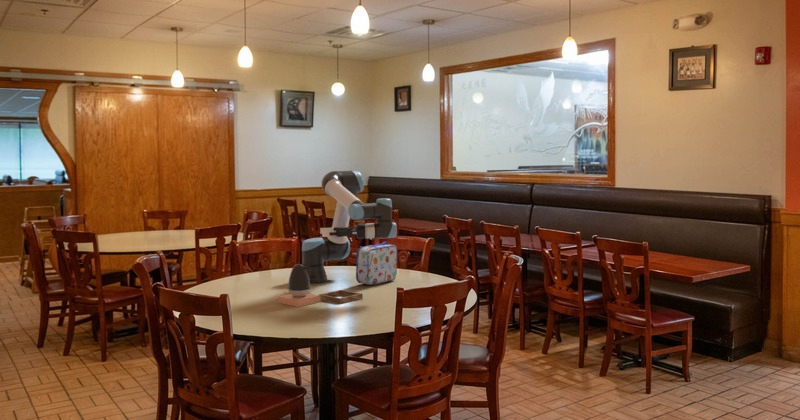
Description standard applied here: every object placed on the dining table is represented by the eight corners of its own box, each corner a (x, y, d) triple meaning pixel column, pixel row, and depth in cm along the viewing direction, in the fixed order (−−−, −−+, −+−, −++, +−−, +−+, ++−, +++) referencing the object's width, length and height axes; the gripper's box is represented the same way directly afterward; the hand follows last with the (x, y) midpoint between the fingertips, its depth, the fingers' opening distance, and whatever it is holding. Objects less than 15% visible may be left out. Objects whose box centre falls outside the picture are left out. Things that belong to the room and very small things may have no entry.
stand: (301, 297, 329) (301, 291, 329) (320, 301, 319) (320, 295, 319) (278, 302, 319) (278, 296, 318) (297, 306, 309) (297, 300, 309)
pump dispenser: (311, 297, 315) (310, 265, 313) (288, 298, 313) (287, 266, 312) (310, 293, 325) (309, 261, 323) (288, 294, 323) (287, 262, 322)
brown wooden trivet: (341, 294, 335) (341, 289, 335) (362, 298, 325) (362, 293, 325) (318, 299, 324) (318, 294, 324) (339, 304, 314) (339, 298, 314)
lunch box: (385, 278, 380) (385, 239, 379) (400, 279, 374) (400, 240, 372) (353, 285, 359) (353, 244, 357) (368, 287, 352) (368, 246, 351)
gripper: (368, 241, 318) (323, 243, 314) (361, 235, 342) (319, 237, 338) (368, 225, 317) (322, 227, 313) (361, 221, 341) (319, 222, 337)
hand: (321, 232), depth 326 cm, fingers open, 13 cm apart
